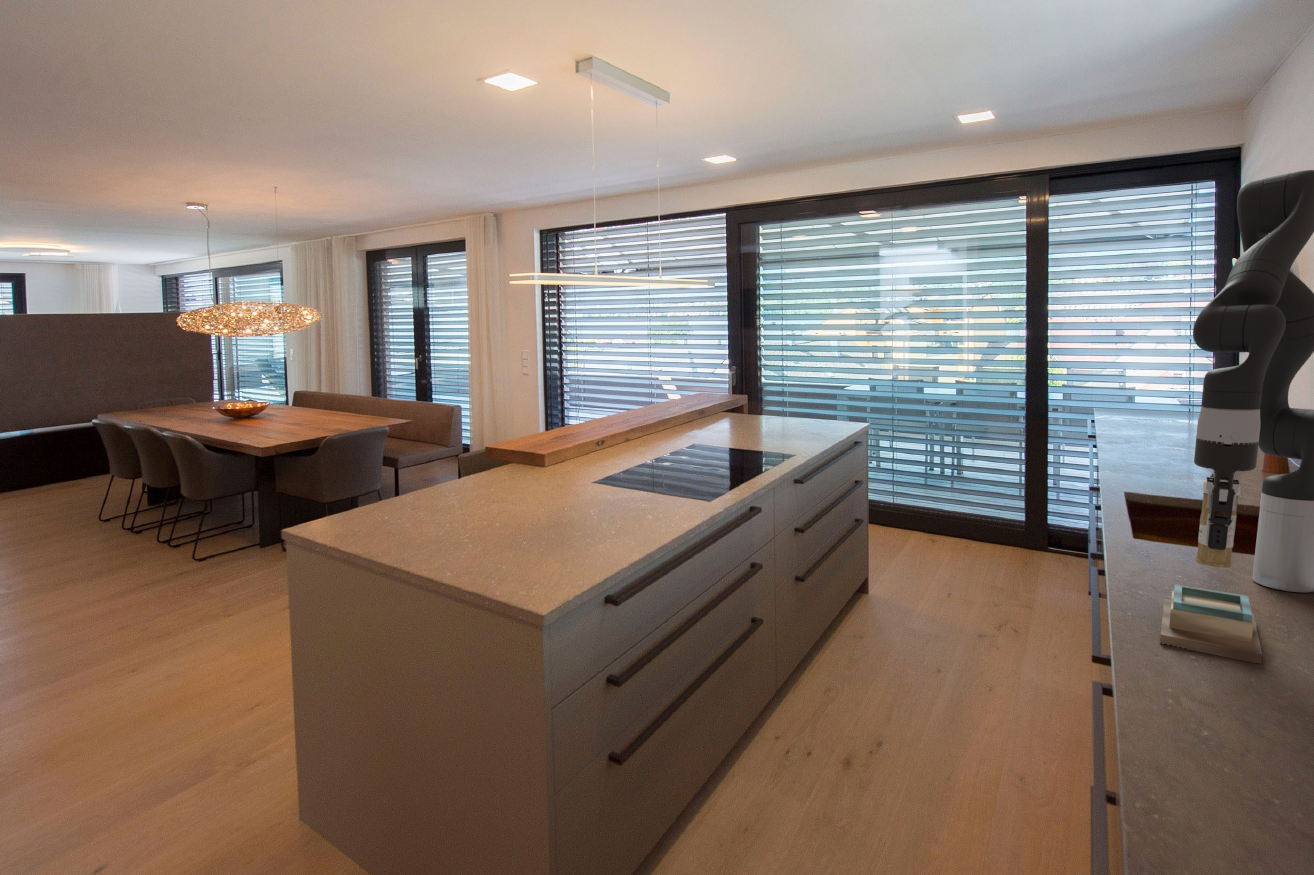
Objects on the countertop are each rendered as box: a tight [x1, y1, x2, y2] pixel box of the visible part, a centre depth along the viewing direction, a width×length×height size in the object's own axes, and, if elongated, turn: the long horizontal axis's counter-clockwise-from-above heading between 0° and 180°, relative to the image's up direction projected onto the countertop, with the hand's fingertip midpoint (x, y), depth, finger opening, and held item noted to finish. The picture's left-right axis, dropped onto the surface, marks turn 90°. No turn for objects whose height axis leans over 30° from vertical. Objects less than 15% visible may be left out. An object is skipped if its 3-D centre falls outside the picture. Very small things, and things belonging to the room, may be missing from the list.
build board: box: [1159, 583, 1263, 665], centre depth 113 cm, size 18×12×6 cm, turn 143°
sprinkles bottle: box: [1195, 479, 1241, 569], centre depth 110 cm, size 5×5×14 cm
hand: (1216, 544), depth 111 cm, fingers closed on sprinkles bottle, 4 cm apart
